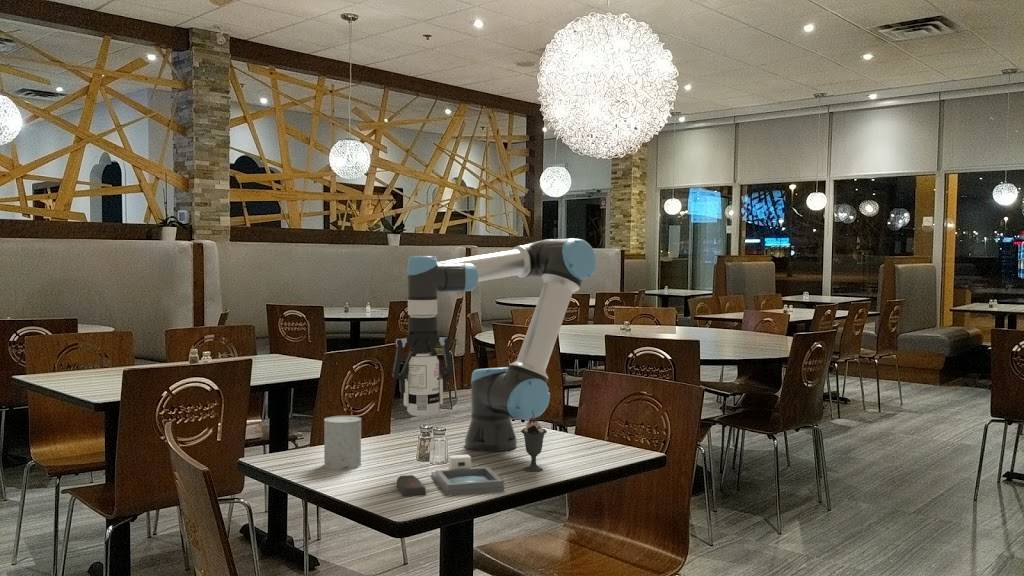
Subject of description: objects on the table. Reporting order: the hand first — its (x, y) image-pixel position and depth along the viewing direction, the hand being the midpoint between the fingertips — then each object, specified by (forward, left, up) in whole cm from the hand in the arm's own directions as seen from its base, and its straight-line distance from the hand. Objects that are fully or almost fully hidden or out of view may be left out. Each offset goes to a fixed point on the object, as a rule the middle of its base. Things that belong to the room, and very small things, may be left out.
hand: (423, 404), depth 209 cm
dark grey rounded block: (+7, +17, -18) cm, 25 cm away
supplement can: (0, 0, -3) cm, 3 cm away
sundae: (-28, +7, -17) cm, 33 cm away
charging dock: (-8, +16, -17) cm, 24 cm away
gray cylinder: (+19, -10, -17) cm, 28 cm away
